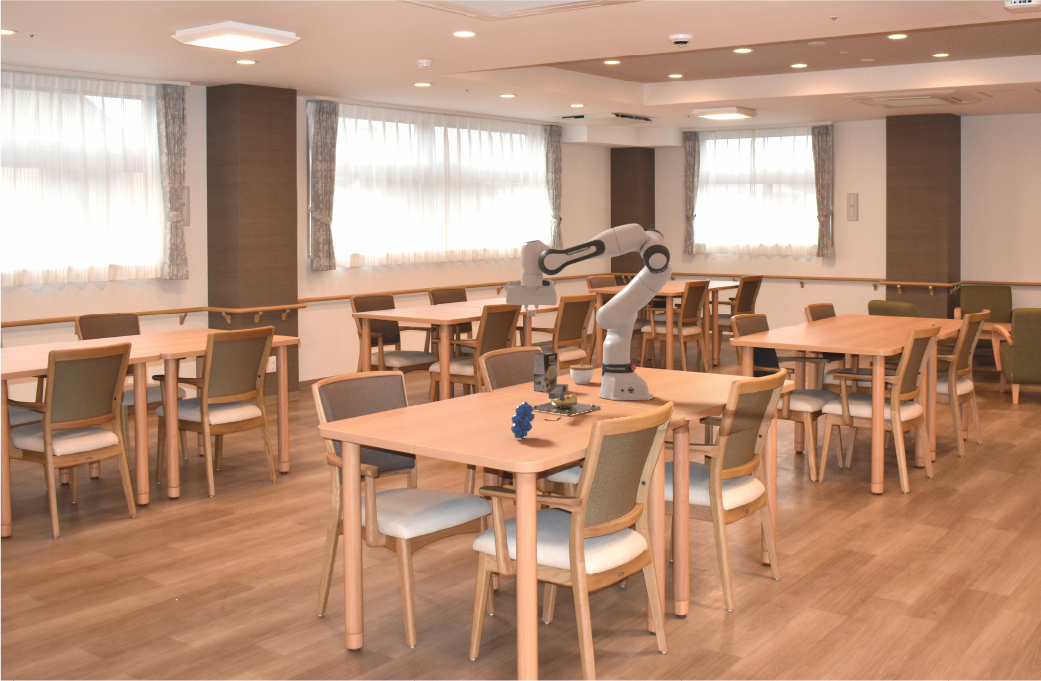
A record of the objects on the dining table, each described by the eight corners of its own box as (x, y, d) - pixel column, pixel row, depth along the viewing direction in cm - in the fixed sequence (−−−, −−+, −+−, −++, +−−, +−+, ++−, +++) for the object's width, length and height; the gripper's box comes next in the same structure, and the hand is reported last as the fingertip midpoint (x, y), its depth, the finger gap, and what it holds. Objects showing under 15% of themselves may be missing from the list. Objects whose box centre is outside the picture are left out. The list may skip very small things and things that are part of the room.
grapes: (521, 433, 326) (521, 398, 324) (538, 436, 322) (538, 400, 320) (501, 439, 316) (501, 403, 315) (519, 442, 312) (519, 405, 311)
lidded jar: (567, 384, 432) (567, 363, 431) (572, 380, 442) (573, 360, 441) (590, 385, 428) (591, 364, 427) (595, 382, 439) (596, 361, 438)
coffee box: (545, 392, 410) (545, 354, 408) (533, 390, 414) (533, 353, 412) (557, 389, 418) (557, 352, 416) (545, 388, 421) (545, 351, 419)
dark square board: (557, 403, 384) (558, 398, 384) (600, 408, 372) (600, 403, 372) (527, 410, 368) (527, 405, 368) (570, 416, 356) (570, 411, 356)
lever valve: (553, 400, 376) (553, 380, 375) (579, 401, 374) (579, 381, 373) (538, 413, 349) (538, 392, 348) (565, 415, 347) (565, 393, 346)
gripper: (504, 281, 381) (504, 316, 382) (556, 282, 379) (556, 317, 380) (506, 280, 387) (506, 315, 388) (557, 281, 385) (557, 316, 387)
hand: (531, 316), depth 384 cm, fingers closed
